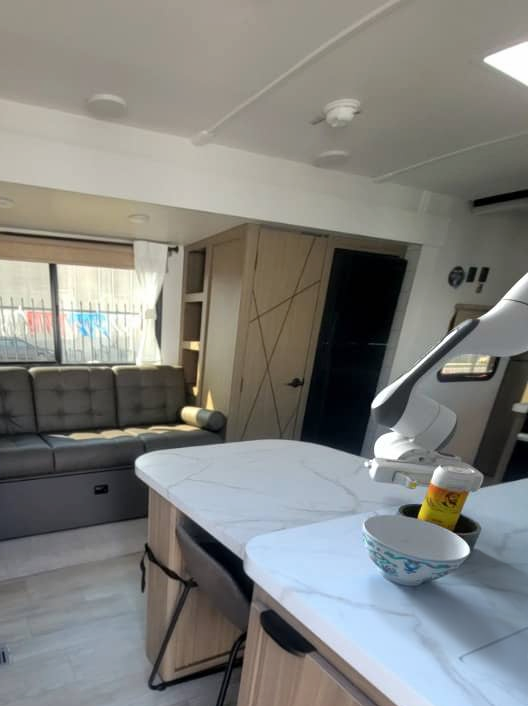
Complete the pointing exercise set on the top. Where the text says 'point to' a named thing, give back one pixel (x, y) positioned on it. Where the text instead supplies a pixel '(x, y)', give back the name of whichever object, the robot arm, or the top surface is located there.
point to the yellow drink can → (446, 495)
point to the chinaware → (412, 548)
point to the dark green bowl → (463, 527)
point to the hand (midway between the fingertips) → (438, 487)
